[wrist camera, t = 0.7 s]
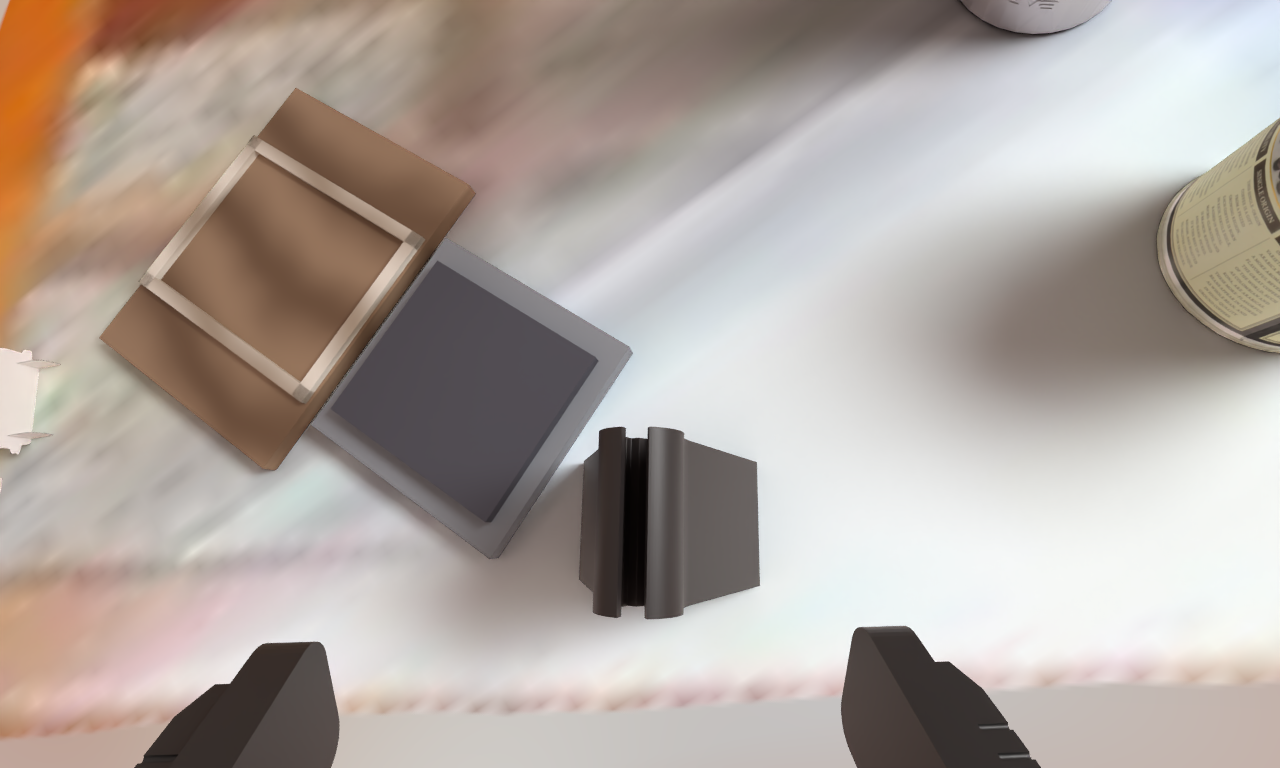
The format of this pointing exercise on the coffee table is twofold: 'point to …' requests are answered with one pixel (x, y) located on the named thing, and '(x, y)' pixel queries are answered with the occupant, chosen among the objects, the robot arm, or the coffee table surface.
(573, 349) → the ink pad
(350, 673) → the coffee table surface
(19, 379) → the car cutout
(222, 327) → the marked board
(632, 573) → the phone stand
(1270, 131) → the coffee can
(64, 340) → the coffee table surface
